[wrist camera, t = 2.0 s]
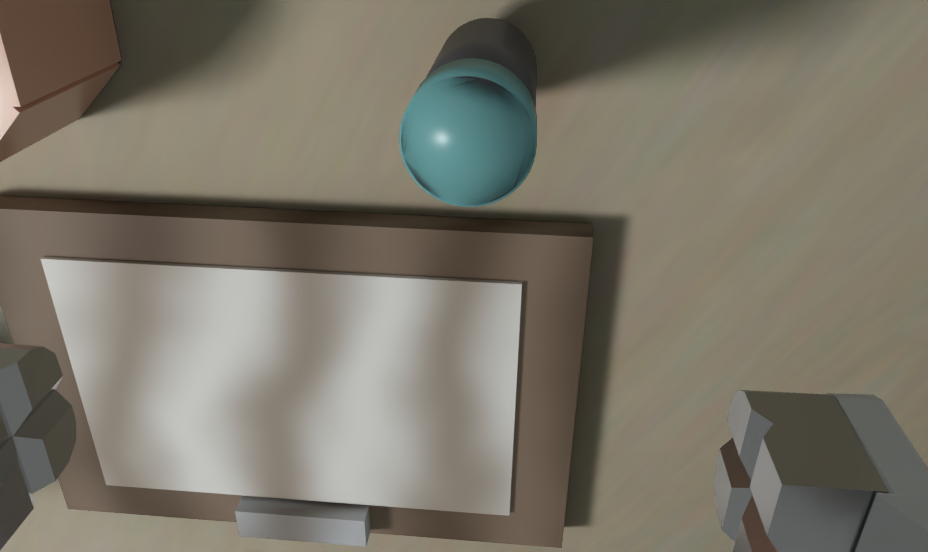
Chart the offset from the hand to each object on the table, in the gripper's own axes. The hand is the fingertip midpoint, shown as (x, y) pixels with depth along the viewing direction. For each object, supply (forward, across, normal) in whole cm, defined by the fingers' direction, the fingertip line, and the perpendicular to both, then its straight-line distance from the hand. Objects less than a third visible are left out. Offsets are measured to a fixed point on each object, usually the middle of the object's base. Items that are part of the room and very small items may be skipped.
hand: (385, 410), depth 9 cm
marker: (+19, 0, 0) cm, 19 cm away
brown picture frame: (+19, +8, +14) cm, 25 cm away
